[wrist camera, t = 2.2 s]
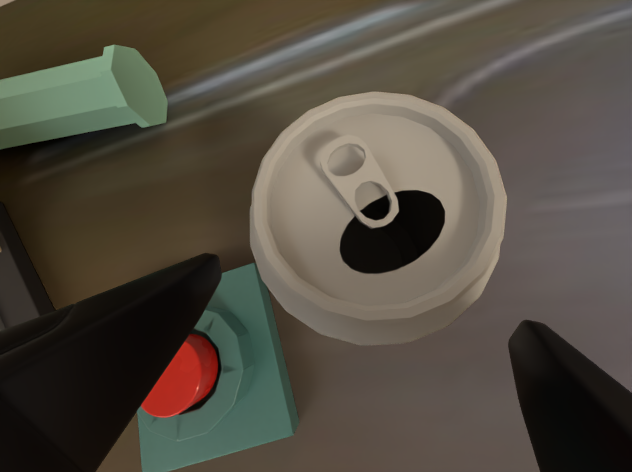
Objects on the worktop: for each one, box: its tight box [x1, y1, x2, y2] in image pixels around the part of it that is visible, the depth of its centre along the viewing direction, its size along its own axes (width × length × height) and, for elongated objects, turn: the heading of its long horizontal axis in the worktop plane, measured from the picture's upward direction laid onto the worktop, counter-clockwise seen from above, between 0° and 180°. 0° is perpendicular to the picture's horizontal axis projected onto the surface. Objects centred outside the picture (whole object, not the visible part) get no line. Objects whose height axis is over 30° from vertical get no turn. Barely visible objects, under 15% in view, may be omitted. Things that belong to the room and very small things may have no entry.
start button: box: [141, 334, 218, 418], centre depth 14 cm, size 4×4×2 cm
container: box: [0, 45, 168, 149], centre depth 22 cm, size 6×6×25 cm
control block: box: [137, 263, 299, 472], centre depth 16 cm, size 10×9×4 cm
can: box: [250, 91, 507, 346], centre depth 12 cm, size 8×8×12 cm
